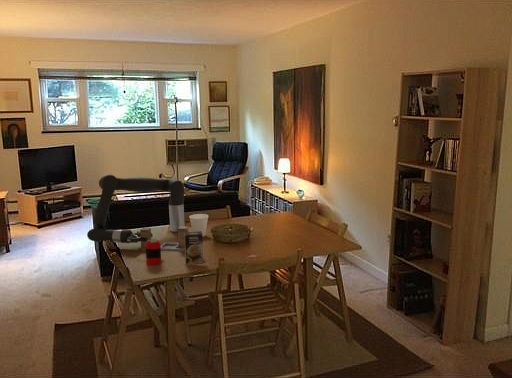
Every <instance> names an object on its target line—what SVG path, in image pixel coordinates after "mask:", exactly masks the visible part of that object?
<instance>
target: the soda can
mask: <svg viewBox="0 0 512 378" xmlns="http://www.w3.org/2000/svg"><path fill="white" fill-rule="evenodd" d="M160 246H161V242H160V240H158V239H156V238H151V240H148V241H147V242H146V244H145V247H146V250H145V259H146V260H145V261H146V264H147V265H148V266H157V265H161V263H162V251H161V247H160Z"/></svg>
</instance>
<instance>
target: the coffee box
mask: <svg viewBox="0 0 512 378" xmlns="http://www.w3.org/2000/svg"><path fill="white" fill-rule="evenodd" d="M184 234H185V252H184V257H185V258H184V259H185V266H194V265H195V266H196V265H204V244H203V243H204V242H203V241H204V239H203V237H204V236H203V235H202V232H201V231H198V232H193V231H188V232H184Z"/></svg>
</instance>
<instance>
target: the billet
mask: <svg viewBox="0 0 512 378" xmlns="http://www.w3.org/2000/svg"><path fill="white" fill-rule="evenodd" d="M139 231H140V237H146V238H147V241H148V240H151V239H152V237H151V233H152V228H151V227H143V228H141V229H139ZM147 241H146V242H147ZM146 242H143V241H140V249H141V251H146V247H145V244H146Z"/></svg>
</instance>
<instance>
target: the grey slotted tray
mask: <svg viewBox="0 0 512 378" xmlns="http://www.w3.org/2000/svg"><path fill="white" fill-rule="evenodd" d="M160 247H161V252H176V253H185V249H182V248H179V244H178V242H164V243H162V244H160Z"/></svg>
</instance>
